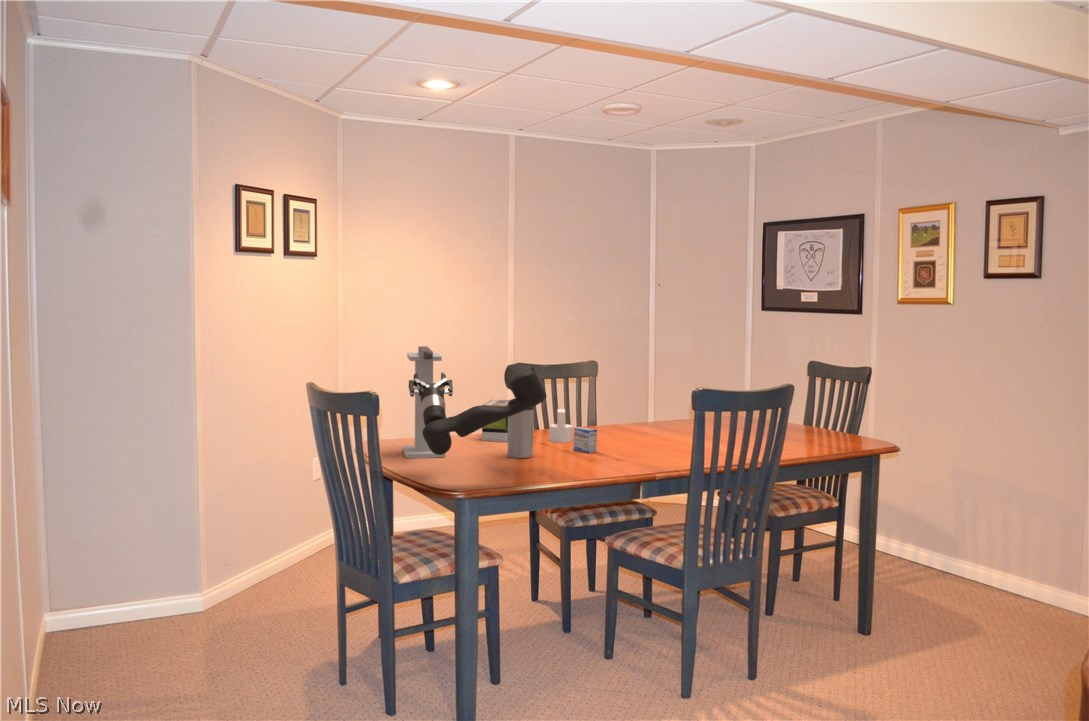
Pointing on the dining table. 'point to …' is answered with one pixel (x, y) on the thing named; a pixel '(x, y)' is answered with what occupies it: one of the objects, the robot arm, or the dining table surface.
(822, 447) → the dining table surface
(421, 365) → the pedestal
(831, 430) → the dining table surface
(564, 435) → the cylinder with rectangular tab
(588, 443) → the medicine box
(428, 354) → the dark cylinder
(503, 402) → the tea box
